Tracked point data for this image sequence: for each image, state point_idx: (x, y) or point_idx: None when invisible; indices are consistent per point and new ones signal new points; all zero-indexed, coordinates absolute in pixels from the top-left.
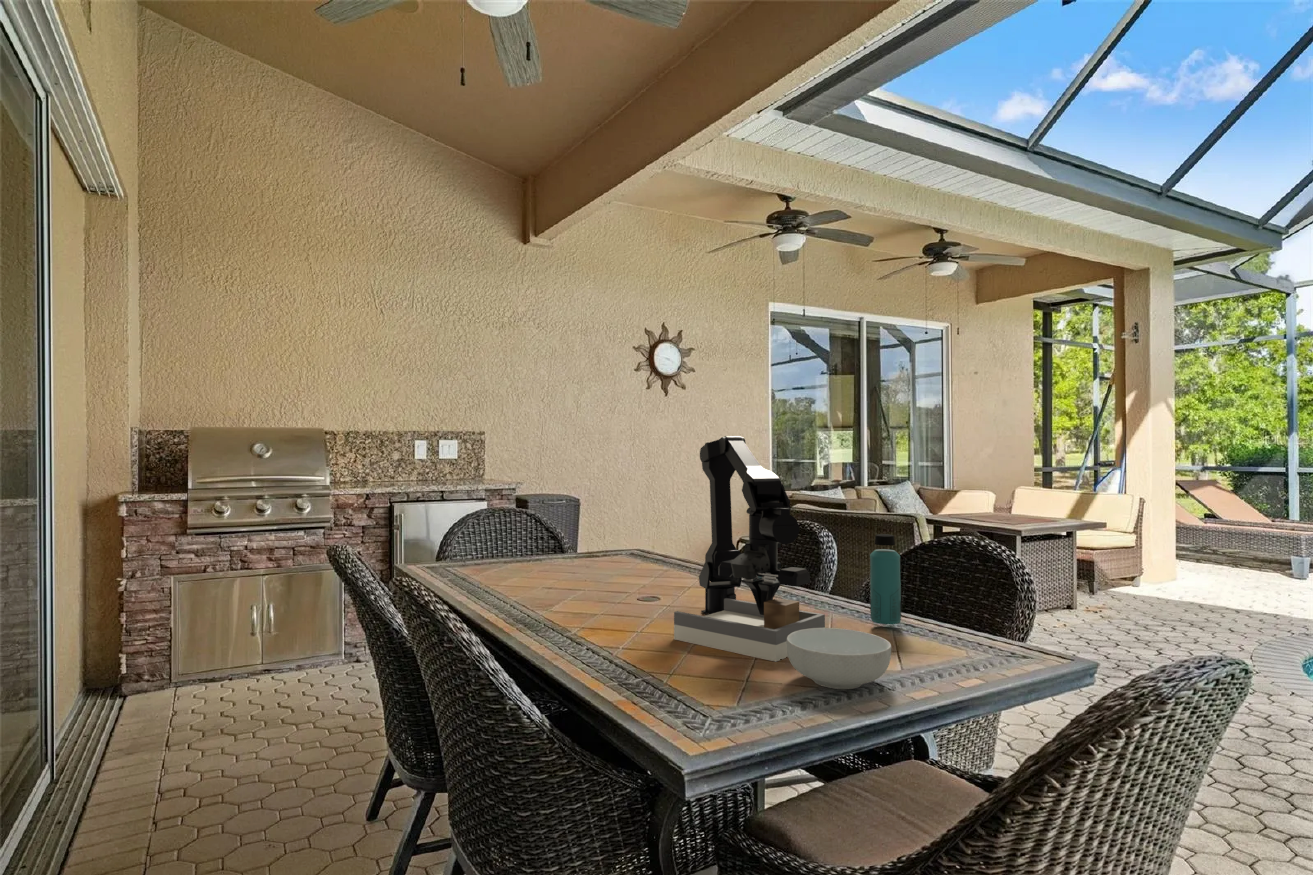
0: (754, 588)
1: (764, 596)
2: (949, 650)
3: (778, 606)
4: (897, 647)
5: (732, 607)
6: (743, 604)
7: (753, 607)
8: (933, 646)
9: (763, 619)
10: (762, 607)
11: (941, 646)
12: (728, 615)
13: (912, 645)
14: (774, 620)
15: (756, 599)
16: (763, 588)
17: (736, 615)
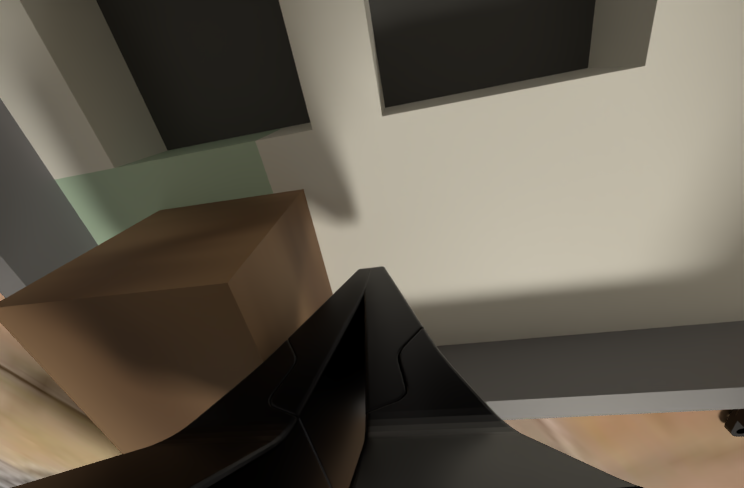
0: (405, 438)
1: (271, 369)
2: (25, 454)
3: (74, 286)
4: (79, 414)
5: (726, 343)
6: (652, 378)
7: (560, 376)
8: (67, 459)
9: (440, 314)
10: (343, 294)
11: (62, 466)
12: (683, 246)
13: (88, 442)
14: (202, 222)
15: (398, 327)
16: (168, 460)
17: (631, 280)
